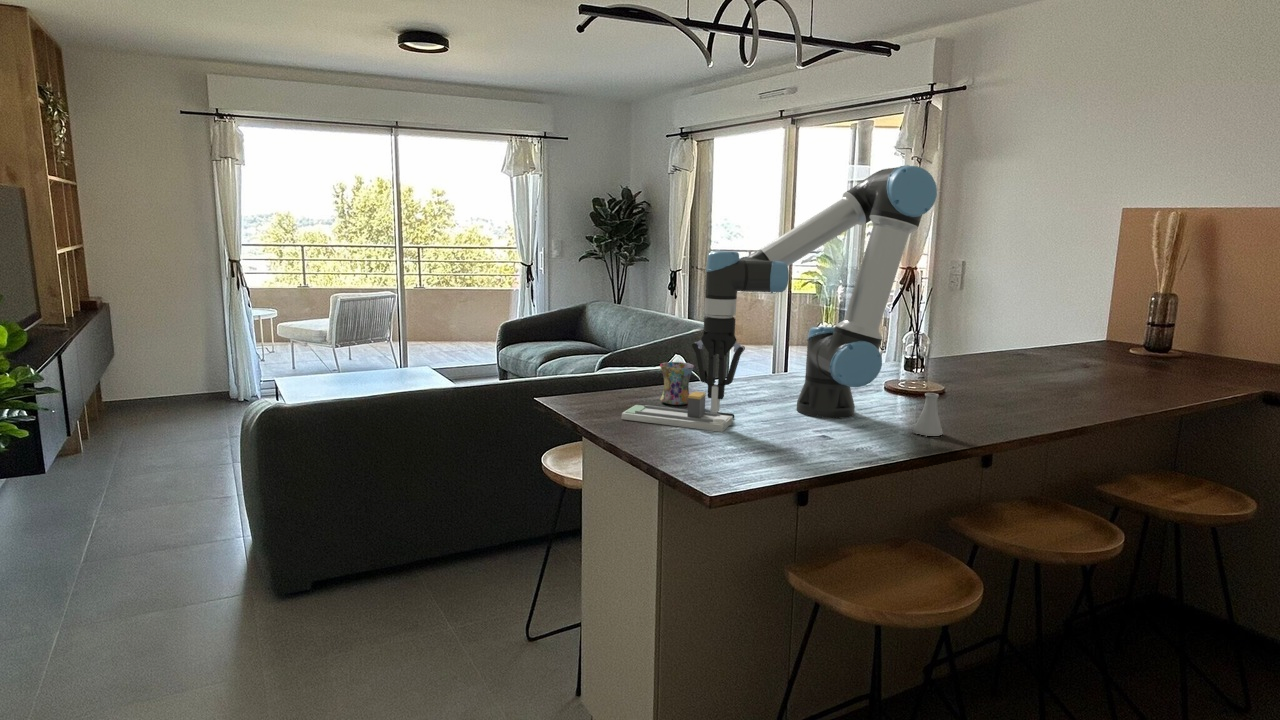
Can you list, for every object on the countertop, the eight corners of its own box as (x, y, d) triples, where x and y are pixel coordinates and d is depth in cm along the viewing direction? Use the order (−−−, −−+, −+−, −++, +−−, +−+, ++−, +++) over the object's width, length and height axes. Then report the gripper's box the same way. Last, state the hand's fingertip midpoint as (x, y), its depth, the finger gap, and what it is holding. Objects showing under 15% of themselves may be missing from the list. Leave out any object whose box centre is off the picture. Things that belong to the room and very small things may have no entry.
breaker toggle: (704, 414, 192) (705, 392, 191) (699, 419, 188) (700, 396, 187) (693, 413, 193) (694, 391, 192) (687, 417, 189) (688, 395, 188)
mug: (697, 406, 208) (699, 367, 206) (664, 407, 206) (666, 368, 204) (682, 396, 219) (684, 359, 218) (651, 397, 217) (652, 360, 215)
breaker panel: (732, 422, 193) (732, 413, 192) (722, 431, 184) (722, 423, 183) (635, 410, 202) (635, 402, 201) (621, 419, 192) (621, 410, 192)
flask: (940, 440, 182) (944, 399, 181) (909, 434, 186) (912, 394, 184) (946, 433, 188) (950, 393, 187) (915, 428, 192) (919, 389, 190)
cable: (734, 418, 197) (734, 413, 197) (733, 419, 196) (734, 414, 195) (647, 409, 203) (647, 404, 203) (646, 410, 202) (646, 405, 202)
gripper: (750, 316, 186) (744, 411, 190) (698, 312, 190) (693, 405, 194) (743, 319, 179) (737, 418, 183) (689, 315, 183) (685, 411, 187)
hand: (715, 411), depth 189 cm, fingers closed
